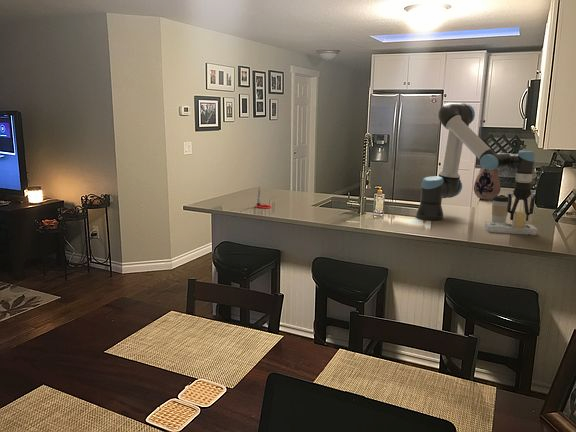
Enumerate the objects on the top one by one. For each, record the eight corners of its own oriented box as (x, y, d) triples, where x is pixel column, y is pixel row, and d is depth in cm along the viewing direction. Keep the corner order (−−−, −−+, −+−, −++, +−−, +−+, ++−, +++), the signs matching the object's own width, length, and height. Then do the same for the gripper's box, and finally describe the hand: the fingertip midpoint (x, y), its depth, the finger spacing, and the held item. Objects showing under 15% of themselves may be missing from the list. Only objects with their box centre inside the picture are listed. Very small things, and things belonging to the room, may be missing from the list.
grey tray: (488, 232, 246) (488, 226, 246) (484, 227, 256) (485, 221, 255) (536, 235, 242) (537, 229, 241) (531, 230, 251) (532, 224, 251)
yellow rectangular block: (514, 228, 246) (516, 212, 244) (512, 226, 250) (514, 211, 248) (524, 228, 245) (525, 213, 243) (521, 226, 249) (523, 211, 247)
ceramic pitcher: (469, 199, 339) (473, 163, 333) (477, 195, 356) (480, 161, 350) (496, 202, 329) (500, 165, 324) (502, 197, 346) (506, 163, 341)
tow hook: (273, 207, 301) (259, 205, 304) (274, 187, 298) (260, 185, 301) (268, 210, 294) (254, 208, 296) (269, 189, 291) (255, 187, 293)
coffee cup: (506, 225, 262) (509, 198, 259) (488, 222, 267) (491, 196, 264) (508, 222, 270) (511, 195, 266) (491, 219, 274) (494, 193, 271)
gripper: (506, 181, 241) (501, 227, 246) (544, 183, 237) (538, 229, 242) (503, 179, 248) (498, 224, 253) (540, 181, 244) (534, 226, 249)
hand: (518, 226), depth 247 cm, fingers closed on yellow rectangular block, 4 cm apart
